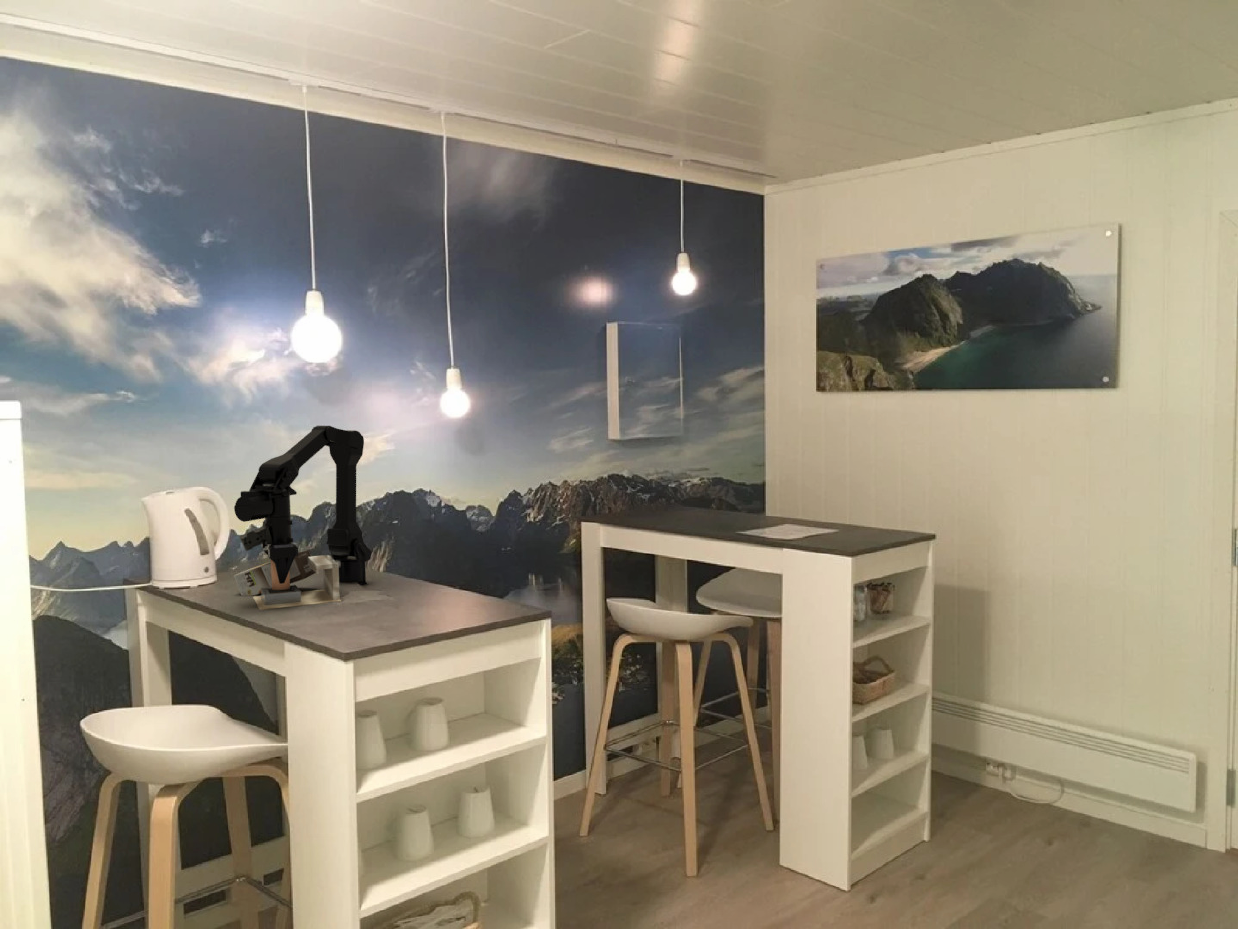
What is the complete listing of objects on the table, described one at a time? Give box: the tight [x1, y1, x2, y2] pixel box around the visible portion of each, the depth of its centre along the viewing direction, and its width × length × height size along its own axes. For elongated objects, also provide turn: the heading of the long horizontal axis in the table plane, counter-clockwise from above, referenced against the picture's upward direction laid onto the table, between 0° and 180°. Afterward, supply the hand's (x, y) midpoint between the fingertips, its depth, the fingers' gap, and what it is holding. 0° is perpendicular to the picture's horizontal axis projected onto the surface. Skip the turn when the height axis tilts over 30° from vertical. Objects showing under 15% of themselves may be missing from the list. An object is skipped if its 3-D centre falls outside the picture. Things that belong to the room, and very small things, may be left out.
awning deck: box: [252, 554, 342, 611], centre depth 231 cm, size 18×15×10 cm
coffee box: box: [233, 549, 316, 597], centre depth 239 cm, size 9×6×16 cm
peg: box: [270, 559, 291, 590], centre depth 229 cm, size 4×4×7 cm
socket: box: [260, 584, 302, 606], centre depth 230 cm, size 8×8×2 cm
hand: (280, 581), depth 229 cm, fingers closed on peg, 4 cm apart
